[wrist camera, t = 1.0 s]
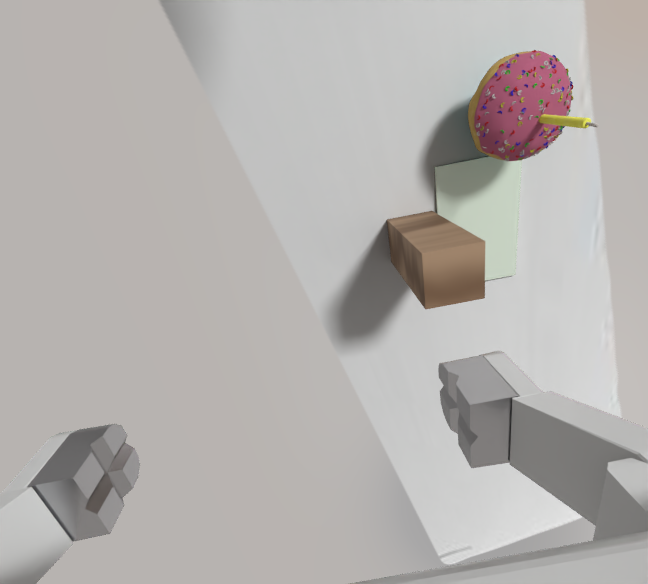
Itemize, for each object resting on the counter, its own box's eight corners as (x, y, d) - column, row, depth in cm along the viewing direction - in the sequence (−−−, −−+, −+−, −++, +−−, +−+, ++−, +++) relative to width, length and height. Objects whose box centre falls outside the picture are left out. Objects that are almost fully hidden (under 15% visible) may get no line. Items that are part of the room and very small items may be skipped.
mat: (434, 167, 36) (435, 167, 36) (520, 150, 36) (522, 150, 35) (440, 288, 42) (440, 289, 41) (514, 273, 42) (515, 274, 41)
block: (386, 219, 38) (421, 253, 27) (431, 210, 38) (485, 241, 27) (391, 262, 40) (425, 309, 29) (434, 253, 40) (484, 298, 29)
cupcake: (551, 110, 34) (669, 98, 24) (484, 177, 37) (562, 194, 26) (502, 38, 32) (609, -13, 21) (432, 115, 34) (495, 105, 23)
